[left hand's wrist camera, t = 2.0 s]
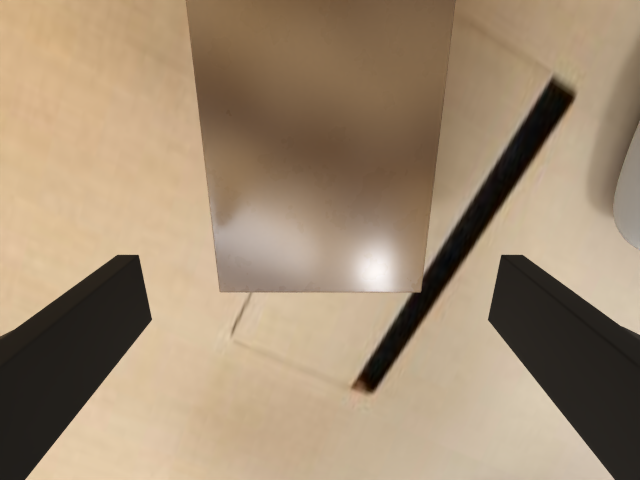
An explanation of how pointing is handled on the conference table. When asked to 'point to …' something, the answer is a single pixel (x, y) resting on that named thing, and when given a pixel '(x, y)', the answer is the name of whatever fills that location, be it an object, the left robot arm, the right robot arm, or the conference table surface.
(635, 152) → the projector
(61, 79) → the conference table surface
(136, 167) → the conference table surface
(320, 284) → the cabinet
